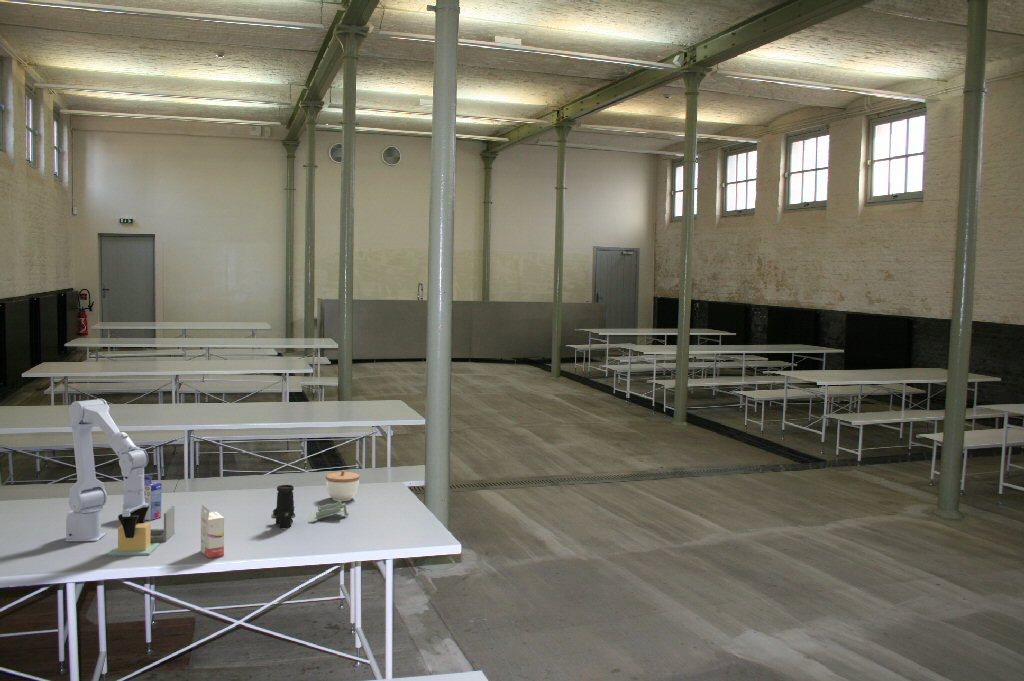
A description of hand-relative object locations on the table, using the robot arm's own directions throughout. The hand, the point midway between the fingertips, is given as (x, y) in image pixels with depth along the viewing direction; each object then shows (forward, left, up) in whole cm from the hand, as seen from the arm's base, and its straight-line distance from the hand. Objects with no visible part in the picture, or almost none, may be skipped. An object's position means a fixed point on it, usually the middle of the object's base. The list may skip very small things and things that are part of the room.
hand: (133, 534), depth 257 cm
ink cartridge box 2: (+24, -4, -5) cm, 25 cm away
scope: (+41, +25, -5) cm, 48 cm away
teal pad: (0, 0, -5) cm, 5 cm away
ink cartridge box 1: (-8, +37, -5) cm, 38 cm away
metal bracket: (+54, +36, -6) cm, 65 cm away
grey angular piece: (0, +13, -5) cm, 14 cm away
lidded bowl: (+57, +62, -5) cm, 84 cm away
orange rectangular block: (0, 0, -4) cm, 4 cm away
